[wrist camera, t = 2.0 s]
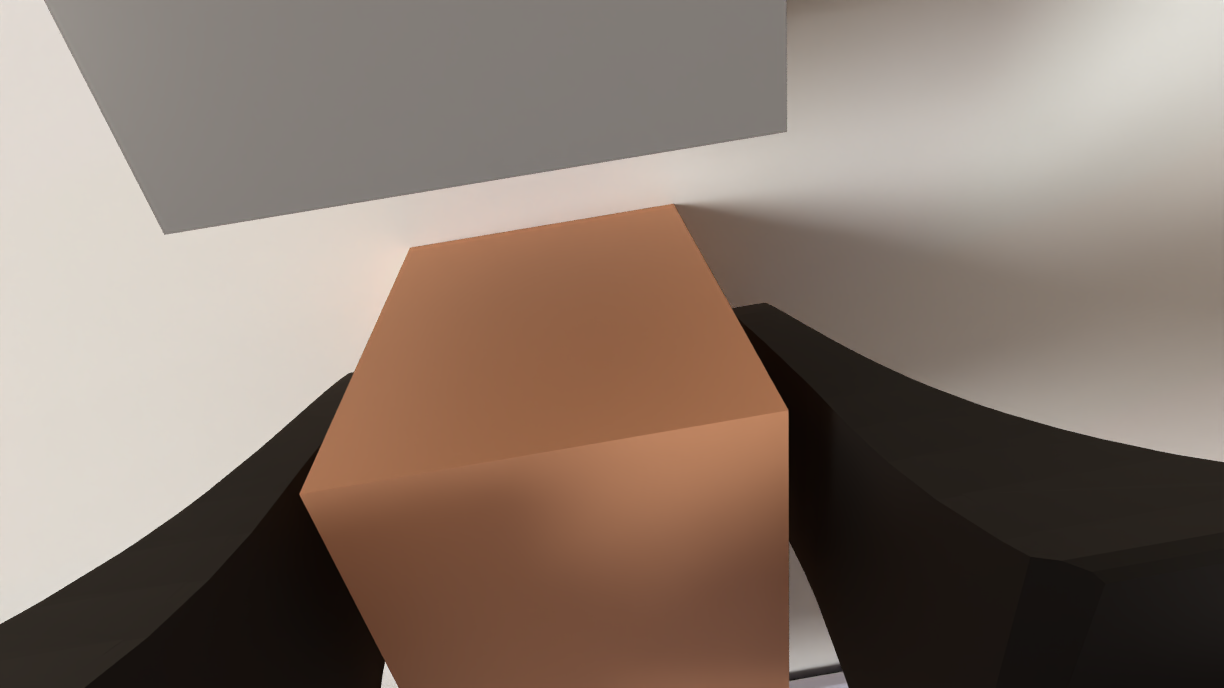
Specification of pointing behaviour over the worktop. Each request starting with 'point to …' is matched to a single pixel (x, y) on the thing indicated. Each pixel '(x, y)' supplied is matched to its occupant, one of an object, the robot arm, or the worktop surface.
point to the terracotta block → (562, 468)
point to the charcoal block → (410, 92)
